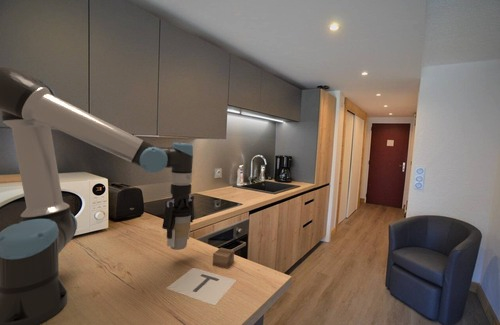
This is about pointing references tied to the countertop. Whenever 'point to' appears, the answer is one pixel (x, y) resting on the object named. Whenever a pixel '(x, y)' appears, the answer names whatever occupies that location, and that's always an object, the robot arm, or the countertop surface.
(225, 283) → the letter sheet
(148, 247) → the countertop surface
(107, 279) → the countertop surface
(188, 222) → the coffee cup
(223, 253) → the walnut block
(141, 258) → the countertop surface
